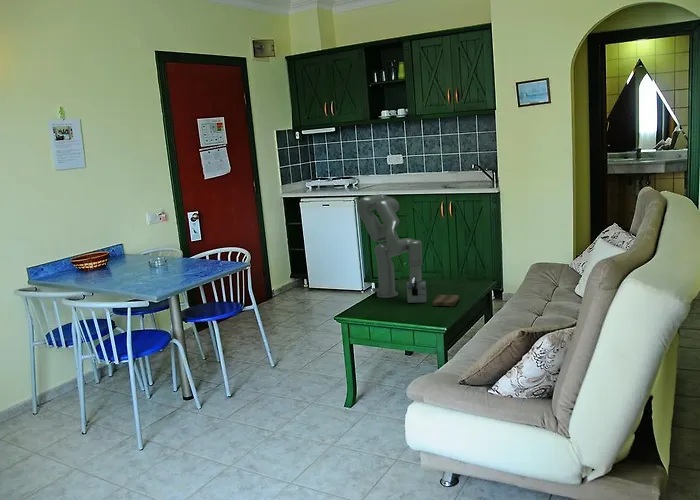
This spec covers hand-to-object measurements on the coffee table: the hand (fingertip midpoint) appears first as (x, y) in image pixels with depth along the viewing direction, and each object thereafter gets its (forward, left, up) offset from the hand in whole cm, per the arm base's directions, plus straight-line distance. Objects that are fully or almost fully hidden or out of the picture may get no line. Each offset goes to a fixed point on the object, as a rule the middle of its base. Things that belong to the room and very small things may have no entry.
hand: (416, 293), depth 339 cm
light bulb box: (0, 0, -5) cm, 5 cm away
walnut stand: (+17, -1, -5) cm, 17 cm away
